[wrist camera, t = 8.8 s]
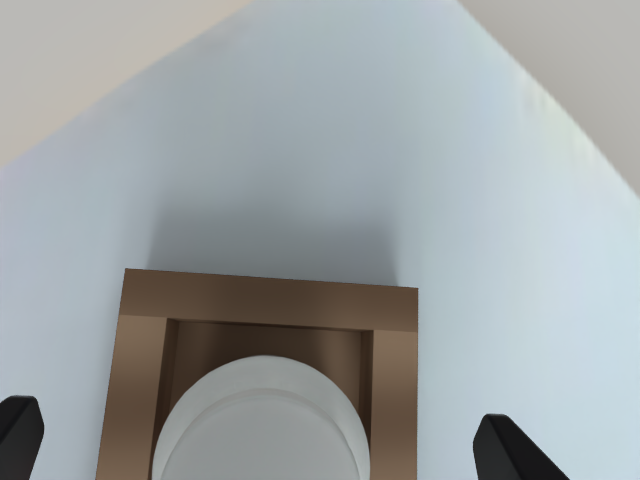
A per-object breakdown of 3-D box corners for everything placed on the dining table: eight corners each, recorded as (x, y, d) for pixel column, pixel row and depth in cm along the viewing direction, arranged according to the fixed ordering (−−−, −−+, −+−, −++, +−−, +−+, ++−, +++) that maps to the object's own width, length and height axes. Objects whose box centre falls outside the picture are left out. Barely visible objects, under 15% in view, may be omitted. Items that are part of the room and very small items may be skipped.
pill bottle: (162, 449, 18) (50, 554, 9) (247, 326, 20) (228, 304, 10) (283, 534, 18) (301, 732, 9) (361, 404, 19) (450, 454, 10)
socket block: (392, 572, 19) (415, 613, 16) (108, 568, 18) (76, 610, 15) (397, 296, 21) (418, 287, 18) (145, 280, 20) (125, 268, 17)
